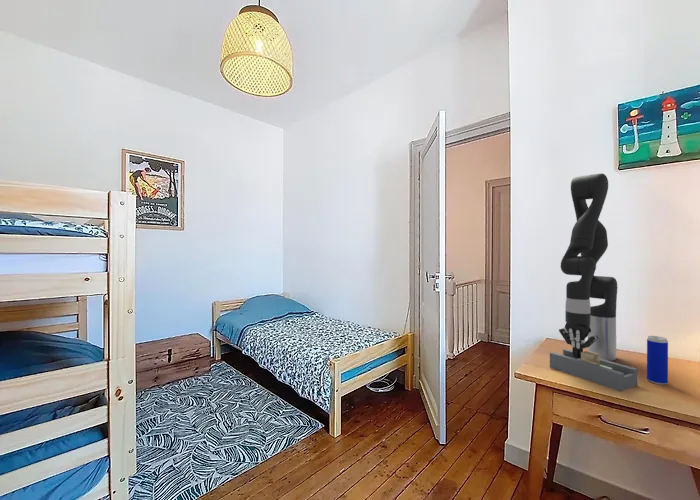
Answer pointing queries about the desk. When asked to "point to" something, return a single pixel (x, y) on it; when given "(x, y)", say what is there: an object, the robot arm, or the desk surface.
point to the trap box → (596, 370)
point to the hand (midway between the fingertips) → (577, 357)
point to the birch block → (590, 357)
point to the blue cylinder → (657, 360)
